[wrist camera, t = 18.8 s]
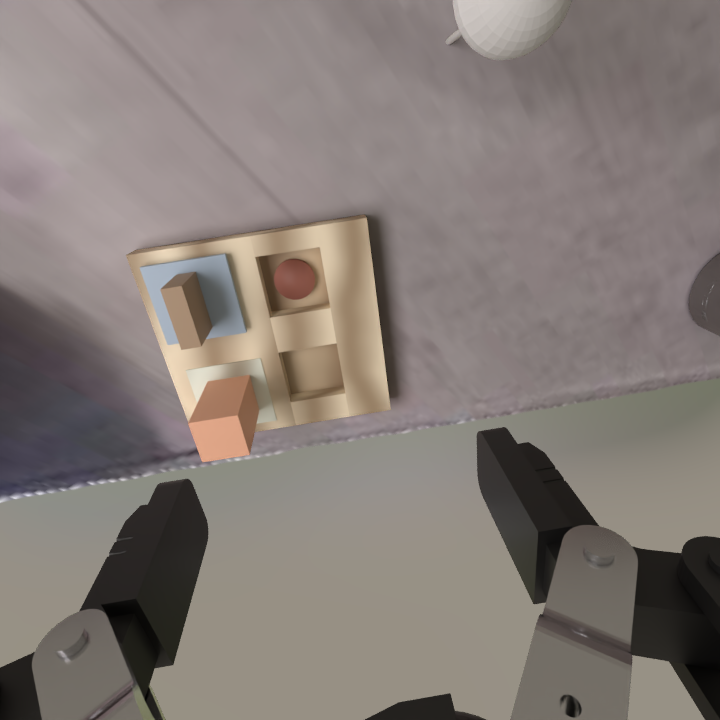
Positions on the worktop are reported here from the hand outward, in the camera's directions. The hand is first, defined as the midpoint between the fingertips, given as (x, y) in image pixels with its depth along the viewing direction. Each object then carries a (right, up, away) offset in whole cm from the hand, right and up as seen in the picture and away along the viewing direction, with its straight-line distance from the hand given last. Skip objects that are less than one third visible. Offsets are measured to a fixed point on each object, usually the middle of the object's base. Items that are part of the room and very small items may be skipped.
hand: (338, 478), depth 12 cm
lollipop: (+7, +27, +21) cm, 35 cm away
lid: (-13, +8, +26) cm, 30 cm away
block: (-12, 0, +30) cm, 32 cm away
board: (-8, +6, +30) cm, 31 cm away
